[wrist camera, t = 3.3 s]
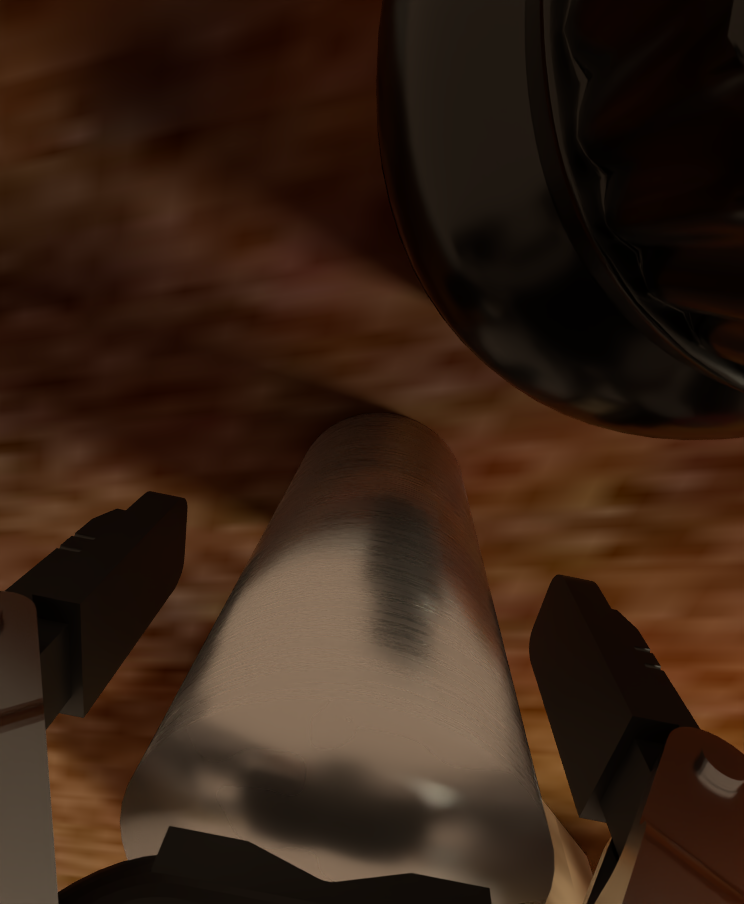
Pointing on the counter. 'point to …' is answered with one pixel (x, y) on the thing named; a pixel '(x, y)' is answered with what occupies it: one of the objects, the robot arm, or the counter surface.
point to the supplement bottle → (578, 197)
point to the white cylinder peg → (357, 687)
